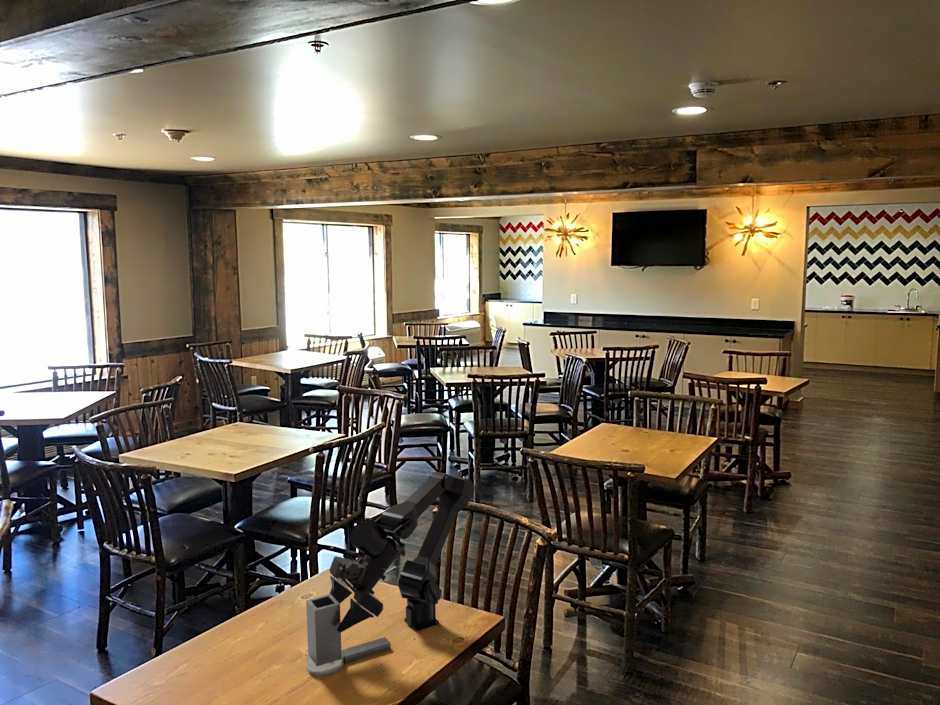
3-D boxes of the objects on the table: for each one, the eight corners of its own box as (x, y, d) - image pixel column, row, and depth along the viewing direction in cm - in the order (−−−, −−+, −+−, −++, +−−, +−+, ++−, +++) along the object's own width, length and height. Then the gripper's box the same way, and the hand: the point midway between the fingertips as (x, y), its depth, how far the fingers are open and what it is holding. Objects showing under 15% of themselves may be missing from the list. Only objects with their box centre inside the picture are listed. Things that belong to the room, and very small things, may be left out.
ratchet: (313, 679, 149) (312, 659, 149) (301, 662, 156) (300, 642, 156) (395, 654, 159) (395, 635, 158) (380, 638, 166) (380, 620, 165)
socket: (332, 647, 158) (330, 594, 157) (341, 658, 154) (339, 604, 152) (308, 654, 155) (306, 600, 154) (316, 666, 151) (314, 610, 149)
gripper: (336, 530, 163) (291, 587, 159) (367, 558, 147) (318, 622, 143) (369, 555, 168) (326, 611, 164) (403, 585, 152) (356, 648, 148)
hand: (331, 622), depth 155 cm, fingers open, 9 cm apart
